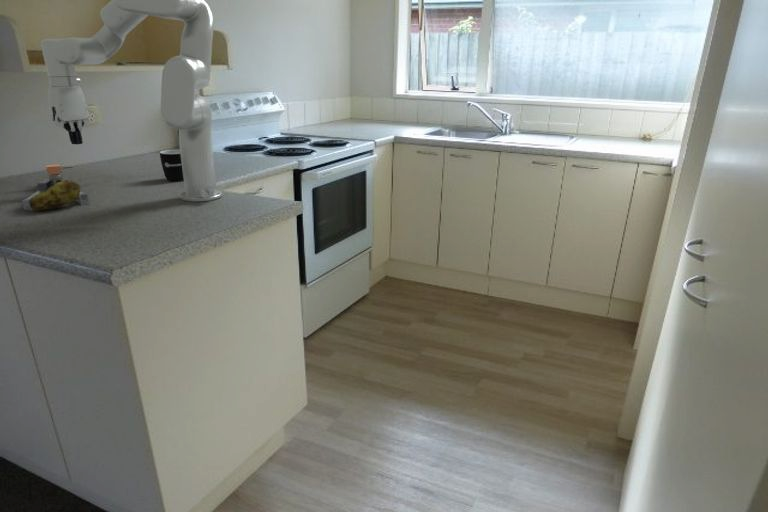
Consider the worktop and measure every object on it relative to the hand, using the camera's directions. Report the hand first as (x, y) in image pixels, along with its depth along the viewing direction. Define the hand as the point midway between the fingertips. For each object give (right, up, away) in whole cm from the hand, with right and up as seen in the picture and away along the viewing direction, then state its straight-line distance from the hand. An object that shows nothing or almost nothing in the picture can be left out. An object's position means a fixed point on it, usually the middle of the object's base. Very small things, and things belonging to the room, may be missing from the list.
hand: (77, 143), depth 165 cm
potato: (+2, -22, -12) cm, 25 cm away
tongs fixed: (-10, -16, +1) cm, 19 cm away
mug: (+23, -8, +25) cm, 35 cm away
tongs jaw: (-1, -17, -1) cm, 17 cm away
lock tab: (-13, -8, +9) cm, 18 cm away
